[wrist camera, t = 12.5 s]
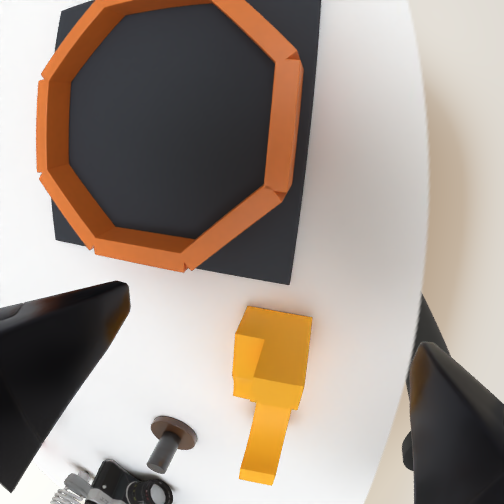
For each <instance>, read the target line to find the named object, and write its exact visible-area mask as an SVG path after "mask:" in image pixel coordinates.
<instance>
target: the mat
mask: <svg viewBox="0 0 504 504" xmlns="http://www.w3.org/2000/svg"><path fill="white" fill-rule="evenodd" d="M245 1H246V2H247V3H249V4H250V5H251V6H252V7H253V8H254V9H255V10H256V11H257V12H259V13H260V14H261V15H262V16H263V17H264V18H265V19H266V20H267V21H268V22H269V23H270V24H271V25H272V26H274V27H275V28H276V29H277V30H278V31H279V32H280V33H281V34H282V35H283V36H284V37H285V38H286V39H287V40H288V41H289V42H290V43H291V44H292V45H293V46H294V47H295V48H296V50H297V51H298V54H299V57H300V60H301V63H302V66H303V69H304V74H303V85H302V95H301V106H300V116H299V126H298V136H297V145H296V154H295V163H294V172H293V181H292V185H291V187H290V189H289V190H288V192H287V194H286V196H285V198H284V199H283V201H282V203H280V204H279V205H278V206H276V207H275V208H274V209H272V210H271V211H270V212H268V213H267V214H266V215H264V216H263V217H262V218H260V219H259V220H258V221H256V222H255V223H254V224H252V225H251V226H250V227H248V228H247V229H246V230H245V231H243V232H242V233H241V234H239V235H238V236H237V237H235V238H234V239H233V240H231V241H230V242H229V243H227V244H226V245H225V246H224V247H222V248H221V249H220V250H218V251H217V252H216V253H214V254H213V255H212V256H211V257H209V258H208V259H207V260H205V261H204V262H203V263H201V264H200V265H199V266H198V267H196V268H197V269H202V270H208V271H213V272H218V273H224V274H229V275H235V276H240V277H246V278H252V279H257V280H263V281H269V282H274V283H280V284H286V285H289V284H290V278H291V272H292V265H293V259H294V252H295V245H296V238H297V231H298V224H299V216H300V209H301V201H302V194H303V186H304V178H305V170H306V161H307V153H308V144H309V135H310V126H311V116H312V106H313V96H314V85H315V74H316V63H317V50H318V37H319V23H320V8H321V0H245ZM94 2H95V0H92V1H89V2H86V3H83V4H80V5H77V6H74V7H72V8H69V9H66V10H64V11H61V16H60V22H59V27H58V33H57V39H56V46H55V52H56V50H57V49H58V48H59V46H60V45H61V43H62V42H63V41H64V39H65V38H66V36H67V35H68V34H69V32H70V31H71V30H72V28H73V27H74V26H75V25H76V23H77V22H78V21H79V19H80V18H81V17H82V16H83V15H84V13H85V12H86V11H87V10H88V9H89V7H90V6H91V5H92V4H93V3H94ZM274 70H275V63H274V62H273V61H272V60H271V59H270V58H269V57H268V56H267V55H266V54H265V53H264V52H263V51H262V50H261V49H260V48H259V47H258V46H257V45H256V44H255V43H254V42H253V41H252V40H251V39H250V38H249V37H248V36H247V35H246V34H245V33H244V32H243V31H242V30H241V29H240V28H239V27H238V26H237V25H236V24H235V23H234V22H233V21H232V20H230V19H229V18H228V17H227V16H226V15H225V14H224V13H223V12H222V11H221V10H219V9H218V8H217V7H216V6H215V5H214V4H213V3H209V4H198V5H188V6H179V7H171V8H164V9H158V10H152V11H146V12H141V13H135V14H131V15H126V16H124V17H123V18H122V20H121V21H120V22H119V23H118V24H117V25H116V26H115V27H114V28H113V30H112V31H111V32H110V33H109V34H108V35H107V36H106V38H105V39H104V40H103V41H102V42H101V44H100V45H99V46H98V47H97V49H96V50H95V51H94V52H93V54H92V55H91V56H90V57H89V59H88V60H87V61H86V63H85V64H84V65H83V67H82V68H81V69H80V71H79V72H78V73H77V75H76V76H75V77H74V79H73V80H72V82H71V91H70V108H69V165H70V166H71V168H72V169H73V170H74V172H75V173H76V175H77V176H78V177H79V179H80V180H81V182H82V183H83V184H84V186H85V187H86V189H87V190H88V191H89V193H90V194H91V195H92V197H93V198H94V199H95V201H96V202H97V203H98V205H99V206H100V207H101V209H102V210H103V211H104V213H105V214H106V215H107V216H108V218H109V219H110V220H111V222H112V223H113V224H114V225H115V227H120V228H127V229H133V230H139V231H146V232H152V233H158V234H165V235H171V236H177V237H183V238H190V239H197V238H198V237H199V236H200V235H201V234H203V233H204V232H205V231H206V230H207V229H209V228H210V227H211V226H212V225H213V224H215V223H216V222H217V221H218V220H220V219H221V218H222V217H223V216H225V215H226V214H227V213H228V212H229V211H231V210H232V209H233V208H234V207H236V206H237V205H238V204H239V203H241V202H242V201H243V200H244V199H246V198H247V197H248V196H249V195H251V194H252V193H253V192H254V191H256V190H257V189H258V188H259V187H261V186H262V185H263V184H264V177H265V167H266V156H267V145H268V135H269V124H270V113H271V103H272V92H273V81H274ZM51 201H52V212H53V221H54V230H55V238H56V240H59V241H63V242H68V243H72V244H77V245H82V246H86V245H85V244H84V243H83V241H82V240H81V239H80V237H79V236H78V235H77V233H76V232H75V231H74V229H73V228H72V226H71V225H70V224H69V222H68V221H67V219H66V218H65V217H64V215H63V214H62V212H61V211H60V210H59V208H58V207H57V205H56V204H55V202H54V201H53V199H52V198H51Z"/></svg>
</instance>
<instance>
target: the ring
mask: <svg viewBox="0 0 504 504" xmlns="http://www.w3.org/2000/svg"><path fill="white" fill-rule="evenodd" d="M209 3H213V4H214V5H215V6H216V7H217V8H218V9H219V10H221V11H222V12H223V13H224V14H225V15H226V16H227V17H228V18H229V19H230V20H232V21H233V22H234V23H235V24H236V25H237V26H238V27H239V28H240V29H241V30H242V31H243V32H244V33H245V34H246V35H247V36H248V37H249V38H250V39H251V40H252V41H253V42H254V43H255V44H256V45H257V46H258V47H259V48H260V49H261V50H262V51H263V52H264V53H265V54H266V55H267V56H268V57H269V58H270V59H271V60H272V61H273V62H274V63H275V70H274V81H273V92H272V103H271V113H270V124H269V135H268V145H267V156H266V167H265V177H264V184H263V185H262V186H261V187H259V188H258V189H257V190H256V191H254V192H253V193H252V194H251V195H249V196H248V197H247V198H246V199H244V200H243V201H242V202H241V203H239V204H238V205H237V206H236V207H234V208H233V209H232V210H231V211H229V212H228V213H227V214H226V215H225V216H223V217H222V218H221V219H220V220H218V221H217V222H216V223H215V224H213V225H212V226H211V227H210V228H209V229H207V230H206V231H205V232H204V233H203V234H201V235H200V236H199V237H198V238H197V239H190V238H183V237H177V236H171V235H165V234H158V233H152V232H146V231H139V230H133V229H127V228H120V227H115V225H114V224H113V223H112V222H111V220H110V219H109V218H108V216H107V215H106V214H105V213H104V211H103V210H102V209H101V207H100V206H99V205H98V203H97V202H96V201H95V199H94V198H93V197H92V195H91V194H90V193H89V191H88V190H87V189H86V187H85V186H84V184H83V183H82V182H81V180H80V179H79V177H78V176H77V175H76V173H75V172H74V170H73V169H72V168H71V166H70V165H69V108H70V91H71V82H72V80H73V79H74V77H75V76H76V75H77V73H78V72H79V71H80V69H81V68H82V67H83V65H84V64H85V63H86V61H87V60H88V59H89V57H90V56H91V55H92V54H93V52H94V51H95V50H96V49H97V47H98V46H99V45H100V44H101V42H102V41H103V40H104V39H105V38H106V36H107V35H108V34H109V33H110V32H111V31H112V30H113V28H114V27H115V26H116V25H117V24H118V23H119V22H120V21H121V20H122V18H123V17H124V16H126V15H131V14H135V13H141V12H146V11H152V10H158V9H164V8H171V7H179V6H188V5H198V4H209ZM303 74H304V69H303V66H302V63H301V60H300V57H299V54H298V51H297V50H296V48H295V47H294V46H293V45H292V44H291V43H290V42H289V41H288V40H287V39H286V38H285V37H284V36H283V35H282V34H281V33H280V32H279V31H278V30H277V29H276V28H275V27H274V26H272V25H271V24H270V23H269V22H268V21H267V20H266V19H265V18H264V17H263V16H262V15H261V14H260V13H259V12H257V11H256V10H255V9H254V8H253V7H252V6H251V5H250V4H249V3H247V2H246V1H245V0H95V2H94V3H93V4H92V5H91V6H90V7H89V9H88V10H87V11H86V12H85V13H84V15H83V16H82V17H81V18H80V19H79V21H78V22H77V23H76V25H75V26H74V27H73V28H72V30H71V31H70V32H69V34H68V35H67V36H66V38H65V39H64V41H63V42H62V43H61V45H60V46H59V48H58V49H57V50H56V52H55V53H54V55H53V56H52V58H51V59H50V61H49V62H48V64H47V65H46V67H45V68H44V70H43V72H42V73H41V75H42V77H43V78H44V80H40V81H39V83H38V96H37V118H36V157H37V172H42V174H41V176H40V178H39V180H40V181H41V183H42V184H43V186H44V187H45V189H46V190H47V192H48V193H49V195H50V196H51V198H52V199H53V201H54V202H55V204H56V205H57V207H58V208H59V210H60V211H61V212H62V214H63V215H64V217H65V218H66V219H67V221H68V222H69V224H70V225H71V226H72V228H73V229H74V231H75V232H76V233H77V235H78V236H79V237H80V239H81V240H82V241H83V243H84V244H85V245H86V247H87V248H88V249H89V250H91V249H93V248H94V251H95V254H96V255H101V256H105V257H110V258H115V259H119V260H124V261H129V262H134V263H138V264H143V265H148V266H153V267H158V268H163V269H168V270H173V271H178V272H183V273H184V272H185V271H186V270H187V269H188V268H189V269H190V270H191V271H192V270H194V269H195V268H196V267H198V266H199V265H200V264H201V263H203V262H204V261H205V260H207V259H208V258H209V257H211V256H212V255H213V254H214V253H216V252H217V251H218V250H220V249H221V248H222V247H224V246H225V245H226V244H227V243H229V242H230V241H231V240H233V239H234V238H235V237H237V236H238V235H239V234H241V233H242V232H243V231H245V230H246V229H247V228H248V227H250V226H251V225H252V224H254V223H255V222H256V221H258V220H259V219H260V218H262V217H263V216H264V215H266V214H267V213H268V212H270V211H271V210H272V209H274V208H275V207H276V206H278V205H279V204H280V203H282V201H283V199H284V198H285V196H286V194H287V192H288V190H289V189H290V187H291V185H292V181H293V172H294V163H295V154H296V145H297V136H298V126H299V116H300V106H301V95H302V85H303Z"/></svg>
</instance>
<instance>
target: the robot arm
mask: <svg viewBox="0 0 504 504" xmlns="http://www.w3.org/2000/svg"><path fill="white" fill-rule="evenodd" d="M130 307H131V305H130V295H129V287H128V285H127V284H126V283H124V282H120V281H112V282H108V283H104V284H100V285H95V286H91V287H87V288H83V289H79V290H75V291H70V292H66V293H62V294H58V295H54V296H50V297H46V298H41V299H37V300H33V301H29V302H25V303H24V304H23V303H20V304H16V305H12V306H8V307H3V308H0V484H1V485H2V486H3V487H4V488H5V489H7V490H8V491H9V492H10V493H12V491H13V490H14V489H15V487H16V486H17V484H18V482H19V481H20V479H21V477H22V476H23V474H24V472H25V471H26V469H27V467H28V466H29V464H30V463H31V461H32V459H33V458H34V456H35V455H36V453H37V452H38V450H39V448H40V447H41V445H42V444H41V443H43V442H44V440H45V439H46V437H47V436H48V434H49V433H50V431H51V430H52V428H53V427H54V425H55V424H56V422H57V421H58V419H59V418H60V416H61V415H62V413H63V412H64V410H65V409H66V407H67V406H68V404H69V403H70V402H71V400H72V399H73V397H74V396H75V394H76V393H77V391H78V390H79V389H80V387H81V386H82V384H83V383H84V381H85V380H86V379H87V377H88V376H89V374H90V373H91V372H92V370H93V369H94V367H95V366H96V365H97V363H98V362H99V360H100V359H101V358H102V356H103V355H104V354H105V352H106V351H107V349H108V348H109V346H110V345H111V343H112V341H113V340H114V338H115V336H116V334H117V333H118V331H119V329H120V328H121V326H122V324H123V322H124V321H125V319H126V317H127V316H128V314H129V312H130ZM410 422H411V434H412V448H413V467H414V504H504V404H503V403H502V402H501V401H499V400H498V399H497V398H496V397H495V396H494V395H493V394H492V393H491V392H490V391H489V390H488V389H486V388H485V387H484V386H483V385H482V384H481V383H480V382H479V381H478V380H476V379H475V378H474V377H473V376H472V375H471V374H470V373H469V372H467V371H466V370H465V369H464V368H463V367H462V366H461V365H459V364H458V363H457V362H456V361H455V360H454V359H453V358H451V357H450V356H449V355H448V354H447V353H446V352H445V351H443V350H442V349H441V348H440V347H439V346H438V345H436V344H435V343H433V342H421V343H420V345H419V347H418V349H417V351H416V353H415V356H414V358H413V360H412V362H411V365H410Z"/></svg>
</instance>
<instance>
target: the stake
mask: <svg viewBox="0 0 504 504" xmlns="http://www.w3.org/2000/svg"><path fill="white" fill-rule="evenodd" d="M151 430H152V432H153V434H154V435H155V436H156V437H157V438H158V439H159V442H158V444H157V445H156V447H155V449H154V451H153V453H152V455H151V457H150V458H149V460H148V462H147V466H148V467H149V468H150V469H151V470H153V471H155V472H157V473H160V474H164V473H165V472H166V470H167V468H168V466H169V464H170V462H171V460H172V458H173V456H174V454H175V452H176V450H177V449H181V450H189V449H192V448H193V447H194V446H195V444H196V441H197V436H196V434H195V432H194V431H193V430H192V429H191V428H190V427H189V426H187V425H186V424H184V423H183V422H181V421H179V420H176V419H174V418H170V417H163V416H162V417H157V418H156V419H154V421H153V423H152V424H151Z"/></svg>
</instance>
